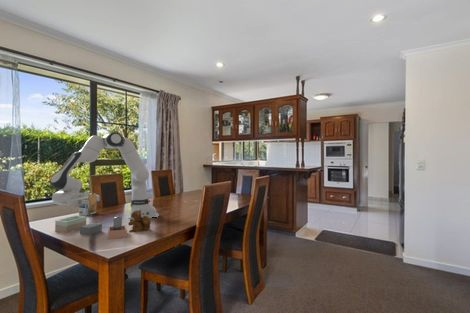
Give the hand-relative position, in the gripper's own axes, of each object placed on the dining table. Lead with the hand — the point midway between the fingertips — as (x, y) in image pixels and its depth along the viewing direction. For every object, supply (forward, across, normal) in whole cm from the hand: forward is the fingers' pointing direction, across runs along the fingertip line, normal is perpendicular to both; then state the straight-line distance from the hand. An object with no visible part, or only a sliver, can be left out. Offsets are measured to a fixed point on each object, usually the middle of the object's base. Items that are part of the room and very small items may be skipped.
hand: (93, 201), depth 148 cm
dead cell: (+18, +1, +19) cm, 26 cm away
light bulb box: (-44, +37, +20) cm, 60 cm away
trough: (-20, +3, +20) cm, 28 cm away
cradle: (-1, 0, +20) cm, 20 cm away
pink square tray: (+18, +1, +20) cm, 26 cm away
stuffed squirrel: (+22, +15, +20) cm, 34 cm away
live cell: (-1, 0, +6) cm, 7 cm away
